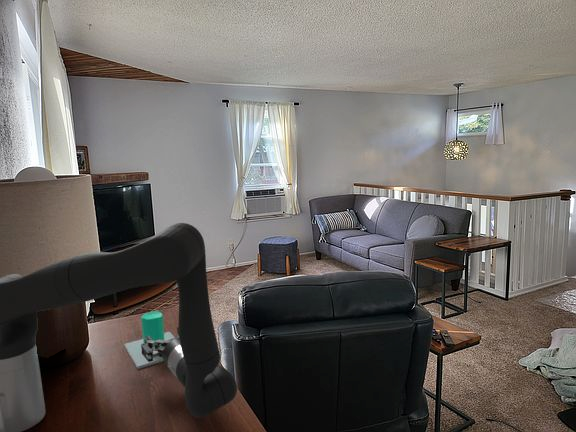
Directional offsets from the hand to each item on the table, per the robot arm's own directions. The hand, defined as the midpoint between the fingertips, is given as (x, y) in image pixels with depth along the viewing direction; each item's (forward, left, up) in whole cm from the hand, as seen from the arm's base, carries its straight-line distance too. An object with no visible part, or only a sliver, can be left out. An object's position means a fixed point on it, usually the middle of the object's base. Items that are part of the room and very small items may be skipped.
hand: (163, 334), depth 106 cm
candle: (+4, +9, -9) cm, 14 cm away
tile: (+5, +10, -9) cm, 14 cm away
